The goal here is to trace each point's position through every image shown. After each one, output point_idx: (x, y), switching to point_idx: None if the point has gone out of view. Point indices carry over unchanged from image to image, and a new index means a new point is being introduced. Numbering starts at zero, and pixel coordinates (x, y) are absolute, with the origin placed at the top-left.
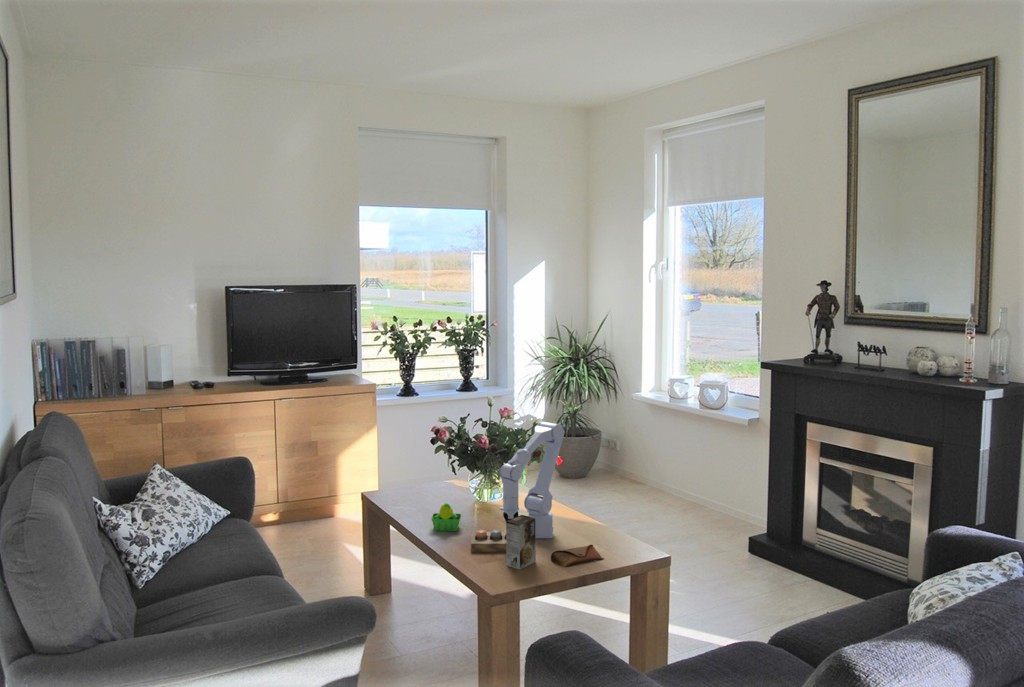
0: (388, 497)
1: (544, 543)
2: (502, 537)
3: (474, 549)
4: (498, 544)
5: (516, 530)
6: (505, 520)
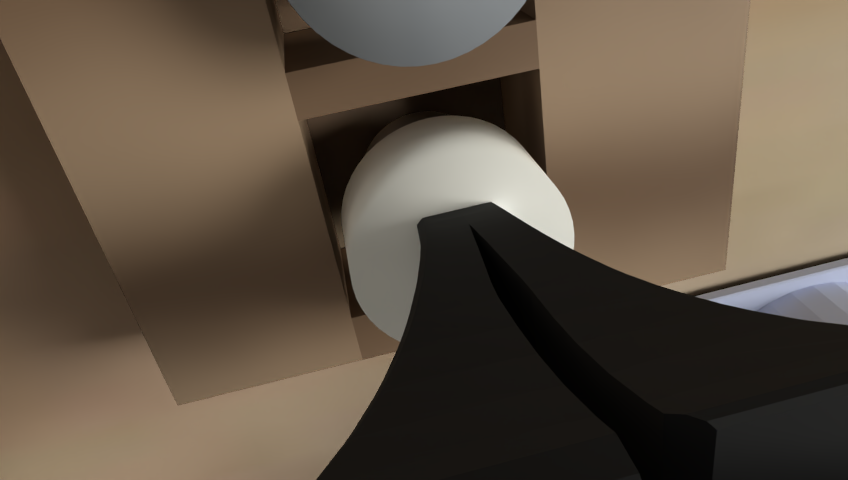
0: None
1: None
2: None
3: None
4: (13, 42)
5: None
6: (381, 392)
